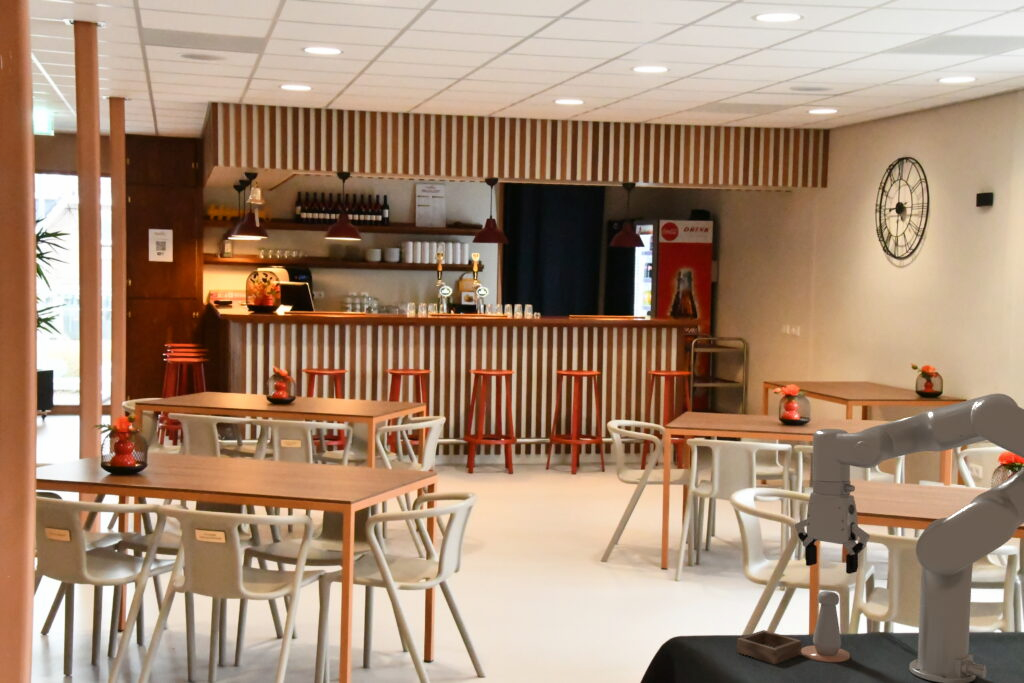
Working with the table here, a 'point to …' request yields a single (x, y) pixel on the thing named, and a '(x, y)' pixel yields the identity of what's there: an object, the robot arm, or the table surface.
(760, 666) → the table surface
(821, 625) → the salt shaker
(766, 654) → the square wooden frame
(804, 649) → the orange round disc
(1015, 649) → the table surface
